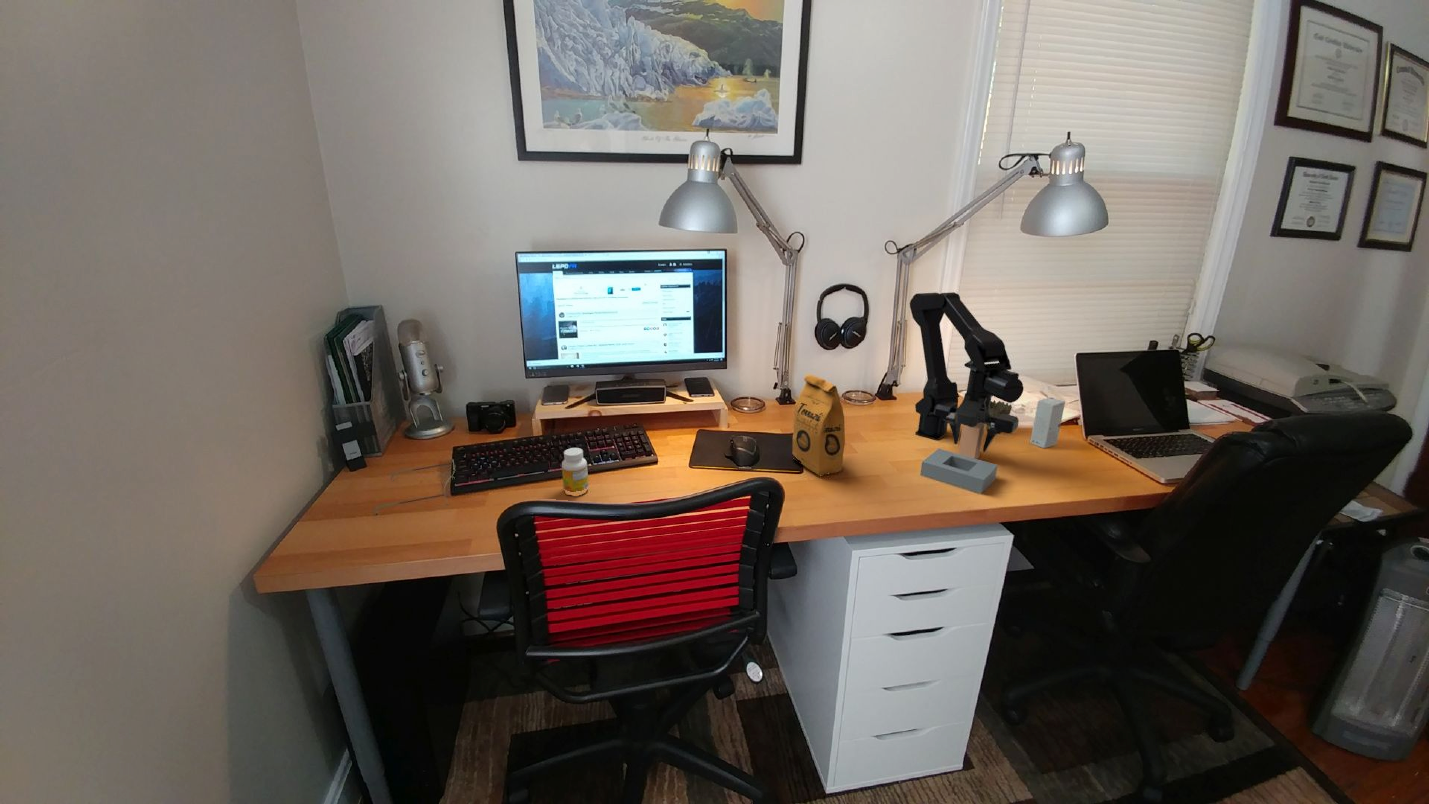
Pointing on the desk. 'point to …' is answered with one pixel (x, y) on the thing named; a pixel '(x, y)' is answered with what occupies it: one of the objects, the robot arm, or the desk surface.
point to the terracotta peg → (971, 440)
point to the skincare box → (1047, 422)
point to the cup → (998, 410)
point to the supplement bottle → (574, 470)
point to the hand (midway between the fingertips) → (969, 447)
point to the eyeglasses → (421, 498)
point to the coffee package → (819, 427)
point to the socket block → (959, 470)
